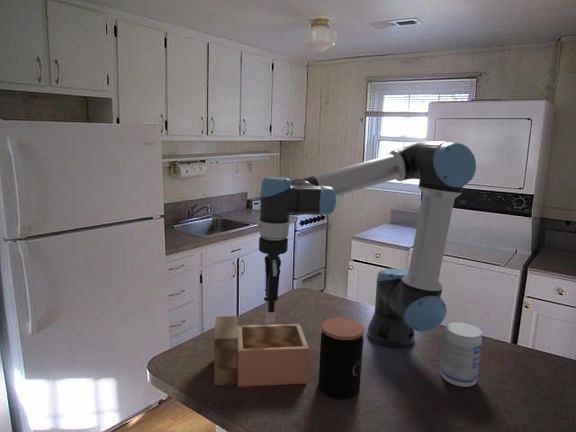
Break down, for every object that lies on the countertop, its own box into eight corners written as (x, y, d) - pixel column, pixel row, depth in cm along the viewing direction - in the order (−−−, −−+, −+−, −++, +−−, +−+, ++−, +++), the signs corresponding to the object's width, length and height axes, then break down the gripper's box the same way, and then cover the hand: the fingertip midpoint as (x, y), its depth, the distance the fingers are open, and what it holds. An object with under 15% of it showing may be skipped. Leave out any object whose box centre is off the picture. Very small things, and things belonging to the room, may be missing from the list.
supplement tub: (478, 391, 113) (485, 340, 110) (440, 384, 115) (446, 334, 112) (474, 372, 122) (480, 324, 119) (439, 366, 124) (444, 319, 122)
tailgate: (306, 381, 112) (307, 346, 110) (306, 383, 111) (308, 348, 109) (237, 384, 110) (238, 348, 108) (237, 386, 109) (238, 350, 107)
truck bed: (298, 358, 126) (300, 314, 123) (305, 384, 113) (308, 335, 110) (215, 362, 122) (215, 316, 119) (213, 389, 110) (213, 338, 107)
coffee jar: (358, 406, 104) (363, 339, 101) (315, 400, 106) (318, 333, 103) (360, 382, 115) (364, 320, 111) (320, 376, 117) (324, 315, 113)
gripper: (257, 230, 116) (254, 311, 121) (261, 243, 104) (257, 332, 108) (284, 231, 117) (280, 311, 122) (291, 243, 105) (287, 332, 109)
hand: (270, 321), depth 115 cm, fingers closed
